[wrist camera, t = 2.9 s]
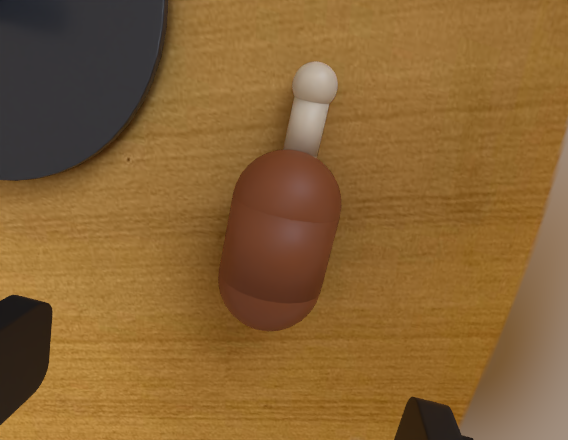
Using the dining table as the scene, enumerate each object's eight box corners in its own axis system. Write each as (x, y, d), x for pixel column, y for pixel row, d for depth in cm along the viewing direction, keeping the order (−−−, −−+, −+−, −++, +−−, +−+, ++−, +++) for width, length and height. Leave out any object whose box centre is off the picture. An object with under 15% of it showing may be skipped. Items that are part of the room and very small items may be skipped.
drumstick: (270, 53, 20) (250, 36, 15) (372, 75, 19) (383, 65, 15) (224, 290, 23) (196, 336, 18) (311, 312, 23) (305, 364, 18)
